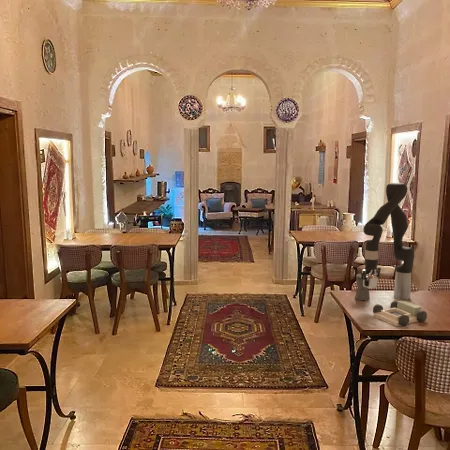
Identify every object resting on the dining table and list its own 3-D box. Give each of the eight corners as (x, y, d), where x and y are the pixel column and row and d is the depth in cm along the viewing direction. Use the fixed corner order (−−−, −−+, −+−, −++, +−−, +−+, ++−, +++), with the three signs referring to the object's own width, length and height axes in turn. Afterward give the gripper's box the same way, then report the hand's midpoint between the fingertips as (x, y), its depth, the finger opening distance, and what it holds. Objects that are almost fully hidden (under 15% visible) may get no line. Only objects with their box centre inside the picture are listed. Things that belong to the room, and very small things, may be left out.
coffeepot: (362, 302, 273) (364, 274, 270) (349, 298, 281) (351, 270, 278) (376, 297, 283) (378, 270, 280) (364, 294, 290) (365, 267, 287)
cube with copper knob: (369, 284, 265) (370, 273, 264) (376, 287, 260) (377, 275, 259) (363, 286, 263) (363, 274, 261) (370, 288, 258) (370, 277, 257)
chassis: (398, 309, 261) (399, 298, 260) (427, 320, 244) (428, 308, 243) (371, 315, 251) (371, 303, 250) (399, 327, 233) (400, 314, 232)
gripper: (375, 254, 265) (374, 282, 268) (357, 257, 259) (356, 285, 261) (385, 257, 259) (383, 285, 261) (367, 260, 252) (365, 289, 255)
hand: (370, 285), depth 261 cm, fingers closed on cube with copper knob, 5 cm apart
